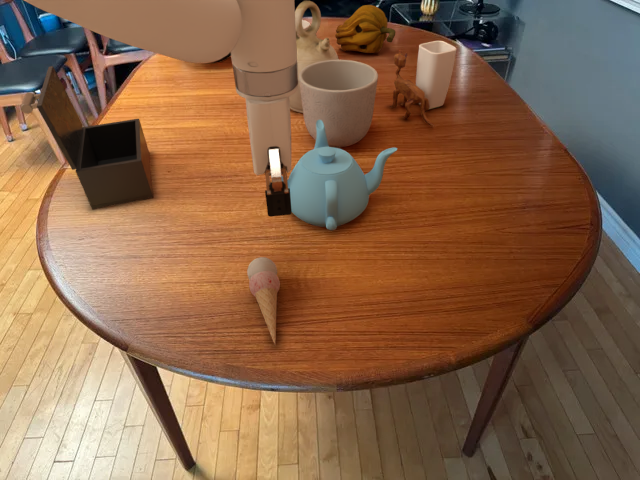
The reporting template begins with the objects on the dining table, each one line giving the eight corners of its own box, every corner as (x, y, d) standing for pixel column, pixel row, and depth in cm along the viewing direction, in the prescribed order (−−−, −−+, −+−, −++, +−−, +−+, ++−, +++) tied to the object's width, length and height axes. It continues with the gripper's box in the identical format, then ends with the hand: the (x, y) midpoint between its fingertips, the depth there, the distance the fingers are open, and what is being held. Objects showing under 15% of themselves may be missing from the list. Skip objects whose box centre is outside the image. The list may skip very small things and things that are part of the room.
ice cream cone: (297, 345, 68) (279, 259, 76) (281, 336, 64) (265, 247, 72) (269, 356, 69) (255, 271, 77) (252, 347, 65) (239, 259, 73)
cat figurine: (444, 128, 112) (454, 72, 103) (422, 134, 110) (430, 78, 101) (401, 99, 124) (407, 46, 115) (380, 104, 122) (384, 51, 113)
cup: (449, 107, 120) (459, 48, 110) (425, 113, 118) (434, 54, 108) (432, 96, 125) (440, 39, 115) (409, 102, 123) (416, 44, 113)
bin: (149, 153, 106) (138, 118, 100) (153, 197, 93) (141, 160, 87) (95, 163, 103) (81, 127, 97) (92, 209, 91) (75, 171, 85)
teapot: (317, 169, 100) (316, 116, 92) (392, 199, 91) (398, 144, 83) (263, 209, 90) (256, 154, 82) (342, 248, 81) (343, 190, 73)
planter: (383, 151, 105) (388, 86, 94) (309, 161, 102) (306, 95, 92) (362, 117, 117) (365, 56, 107) (296, 124, 115) (292, 63, 104)
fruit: (353, 45, 160) (409, 33, 150) (337, 68, 151) (396, 57, 141) (340, 4, 151) (399, -11, 142) (323, 26, 142) (385, 11, 132)
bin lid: (52, 65, 89) (23, 72, 88) (41, 105, 76) (6, 113, 75) (82, 124, 97) (56, 131, 96) (76, 169, 85) (46, 176, 84)
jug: (271, 99, 125) (262, -2, 108) (321, 86, 131) (319, -12, 114) (298, 123, 115) (292, 15, 98) (350, 108, 121) (353, 3, 104)
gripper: (234, 51, 61) (249, 162, 72) (233, 111, 48) (252, 235, 60) (291, 47, 62) (297, 158, 73) (305, 106, 49) (310, 229, 60)
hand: (277, 193), depth 66 cm, fingers open, 9 cm apart
